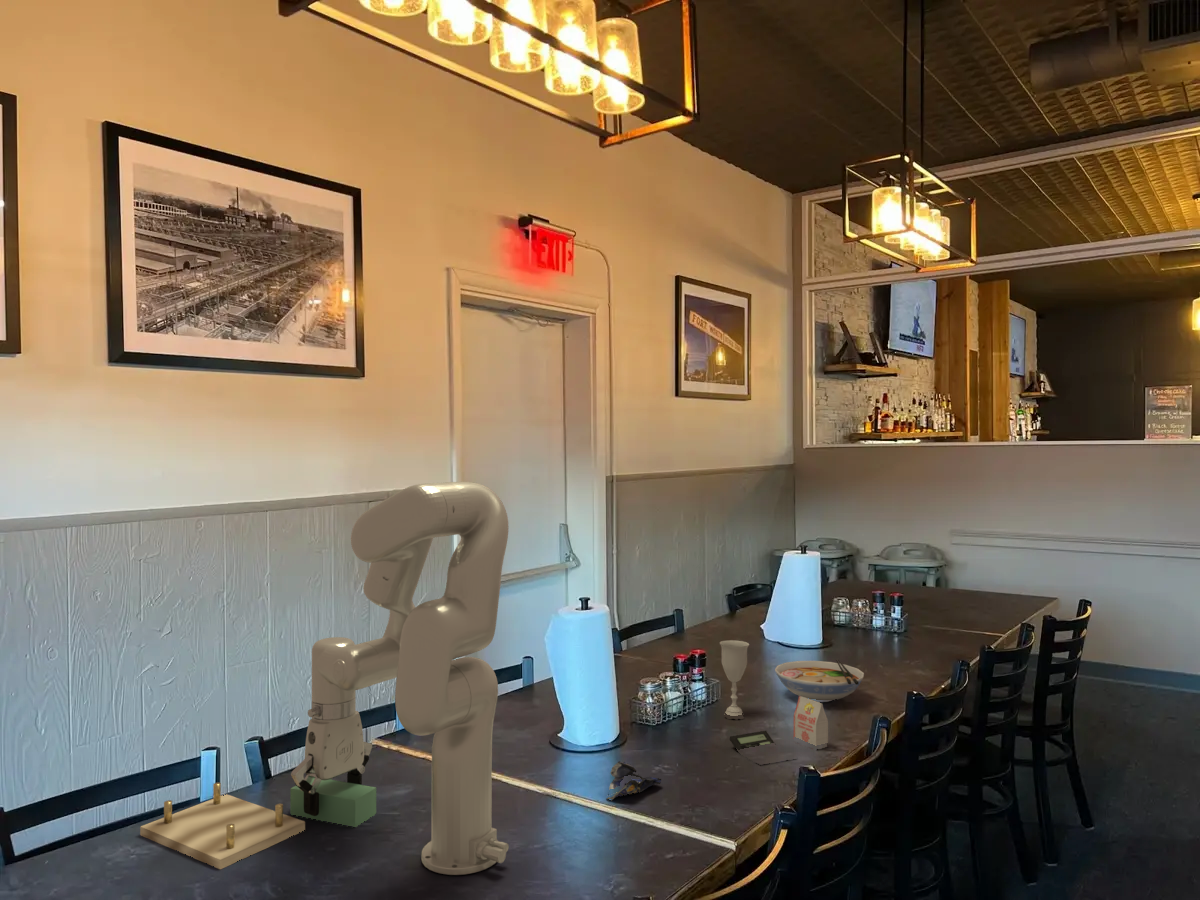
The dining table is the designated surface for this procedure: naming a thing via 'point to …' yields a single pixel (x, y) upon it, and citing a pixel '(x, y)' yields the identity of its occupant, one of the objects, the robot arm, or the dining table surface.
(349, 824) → the olive green box
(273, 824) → the chassis plate
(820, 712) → the paper takeout bag
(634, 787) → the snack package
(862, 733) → the dining table surface
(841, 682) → the ramen bowl
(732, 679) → the chalice
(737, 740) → the calculator
